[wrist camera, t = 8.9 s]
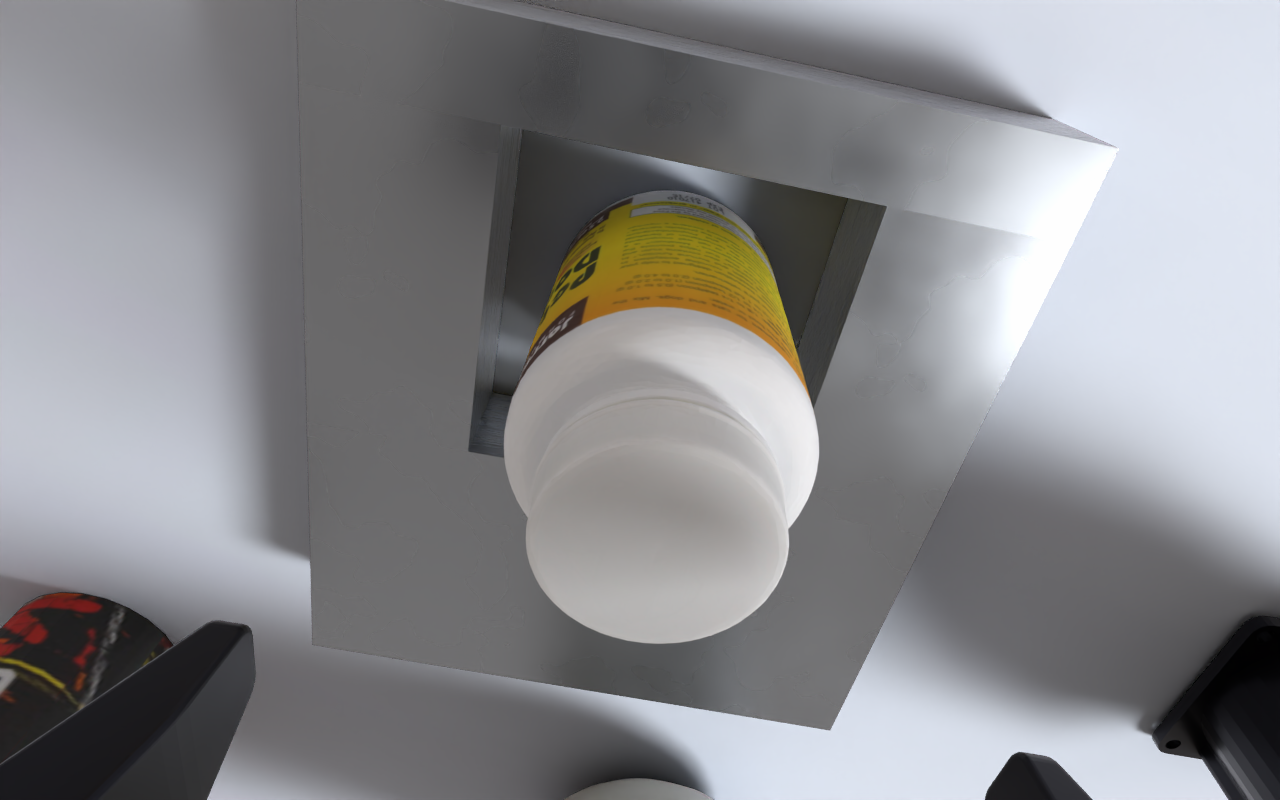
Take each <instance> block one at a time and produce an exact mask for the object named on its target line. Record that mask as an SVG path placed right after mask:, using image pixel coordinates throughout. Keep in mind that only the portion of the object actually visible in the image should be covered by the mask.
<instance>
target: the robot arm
mask: <svg viewBox="0 0 1280 800" xmlns="http://www.w3.org/2000/svg"><path fill="white" fill-rule="evenodd" d="M255 676H256V671H255V658H254V646H253V635H252V631H251V629H250V628H249V627H248V626H247V625H244V624H238V623H232V622H226V621H220V620H215V621H211V622H209V623H206V624H205V625H203V626H202V627H200V628H199V629H197V630H196V631H194V632H193V633H191V634H190V635H188V636H187V637H186V638H184V639H183V640H181V641H180V642H178V643H177V644H175V645H174V646H172V647H171V648H169V649H168V650H166V651H165V652H164V653H162V654H161V655H159V656H158V657H156V658H155V659H153V660H152V661H150V662H149V663H147V664H146V665H144V666H143V667H142V668H140V669H139V670H137V671H136V672H134V673H133V674H131V675H130V676H128V677H127V678H125V679H124V680H122V681H121V682H120V683H118V684H117V685H115V686H114V687H112V688H111V689H109V690H108V691H106V692H105V693H103V694H102V695H100V696H99V697H98V698H96V699H95V700H93V701H92V702H90V703H89V704H87V705H86V706H84V707H83V708H81V709H80V710H79V711H77V712H76V713H74V714H73V715H71V716H70V717H68V718H67V719H65V720H64V721H62V722H61V723H59V724H58V725H57V726H55V727H54V728H52V729H51V730H49V731H48V732H46V733H45V734H43V735H42V736H40V737H39V738H37V739H36V740H35V741H33V742H32V743H30V744H29V745H27V746H26V747H24V748H23V749H21V750H20V751H18V752H17V753H15V754H14V755H13V756H11V757H10V758H8V759H7V760H5V761H4V762H2V763H1V764H0V800H207V798H208V796H209V793H210V791H211V789H212V786H213V784H214V781H215V779H216V777H217V774H218V772H219V770H220V767H221V765H222V762H223V760H224V758H225V755H226V753H227V751H228V748H229V746H230V744H231V741H232V739H233V736H234V734H235V732H236V729H237V727H238V725H239V722H240V720H241V717H242V715H243V713H244V710H245V708H246V706H247V703H248V701H249V699H250V696H251V693H252V690H253V687H254V683H255ZM1152 739H1153V741H1154V742H1155V744H1156V746H1157V747H1158V749H1159V750H1160V751H1161V752H1164V753H1168V754H1174V755H1179V756H1185V757H1191V758H1197V759H1202V760H1203V761H1204V763H1205V764H1206V766H1207V768H1208V769H1209V771H1210V772H1211V774H1212V775H1213V777H1214V778H1215V780H1216V781H1217V783H1218V784H1219V786H1220V788H1221V789H1222V791H1223V792H1224V794H1225V795H1226V797H1227V798H1228V800H1280V619H1279V618H1274V617H1268V616H1258V617H1254V618H1252V619H1250V620H1248V621H1247V622H1245V623H1244V624H1243V625H1242V626H1241V628H1240V629H1239V630H1238V631H1237V632H1236V634H1235V635H1234V636H1233V637H1232V638H1231V640H1230V641H1229V642H1228V643H1227V645H1226V646H1225V647H1224V648H1223V649H1222V651H1221V652H1220V653H1219V654H1218V655H1217V657H1216V658H1215V659H1214V660H1213V661H1212V663H1211V664H1210V665H1209V666H1208V668H1207V669H1206V670H1205V671H1204V672H1203V674H1202V675H1201V676H1200V677H1199V678H1198V680H1197V681H1196V682H1195V683H1194V684H1193V686H1192V687H1191V688H1190V689H1189V690H1188V692H1187V693H1186V694H1185V695H1184V697H1183V698H1182V699H1181V700H1180V701H1179V703H1178V704H1177V705H1176V706H1175V707H1174V709H1173V710H1172V711H1171V712H1170V713H1169V715H1168V716H1167V717H1166V718H1165V720H1164V721H1163V722H1162V723H1161V724H1160V726H1159V727H1158V728H1157V729H1156V730H1155V732H1154V733H1153V735H1152ZM985 800H1092V799H1091V798H1090V797H1089V795H1088V794H1087V793H1086V792H1085V791H1084V790H1083V789H1082V788H1081V787H1080V786H1079V785H1078V784H1077V783H1076V782H1075V781H1074V780H1073V779H1072V777H1071V776H1070V775H1069V774H1068V773H1067V772H1066V771H1065V770H1064V769H1063V768H1062V767H1061V766H1060V765H1059V764H1058V763H1057V762H1056V761H1054V760H1053V759H1051V758H1049V757H1047V756H1042V755H1036V754H1030V753H1024V752H1018V753H1016V754H1014V755H1012V756H1011V757H1010V758H1009V760H1008V761H1007V763H1006V764H1005V766H1004V767H1003V768H1002V770H1001V771H1000V773H999V774H998V776H997V777H996V779H995V780H994V781H993V783H992V784H991V786H990V787H989V789H988V791H987V793H986V797H985Z"/></svg>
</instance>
